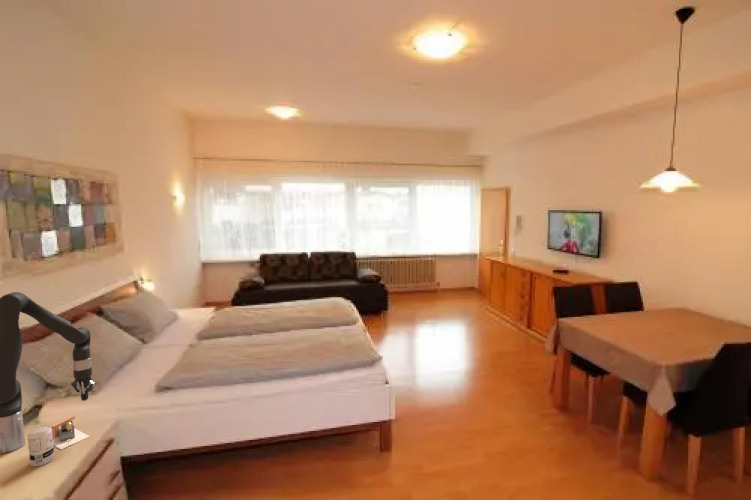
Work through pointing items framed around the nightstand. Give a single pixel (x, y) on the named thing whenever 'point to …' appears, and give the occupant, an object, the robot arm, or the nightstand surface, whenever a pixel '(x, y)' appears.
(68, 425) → the cylinder
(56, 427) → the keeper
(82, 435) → the board
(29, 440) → the supplement can
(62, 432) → the link
